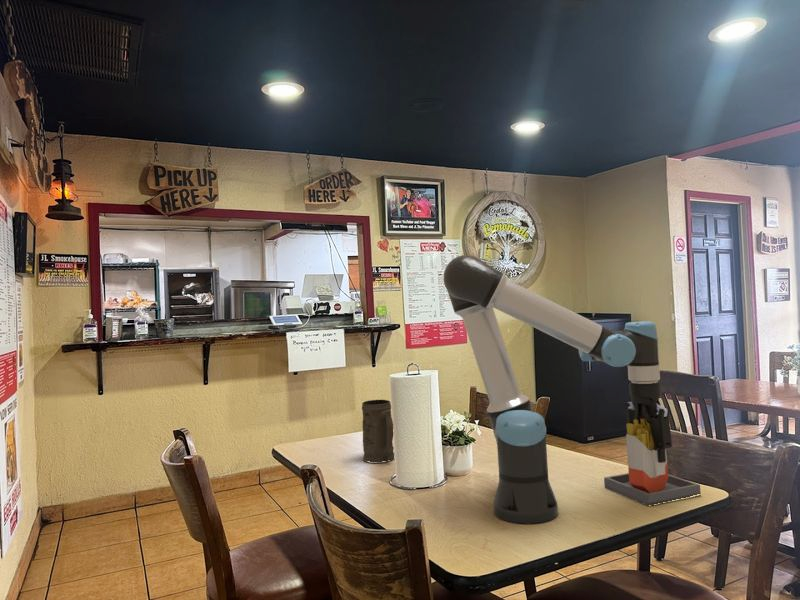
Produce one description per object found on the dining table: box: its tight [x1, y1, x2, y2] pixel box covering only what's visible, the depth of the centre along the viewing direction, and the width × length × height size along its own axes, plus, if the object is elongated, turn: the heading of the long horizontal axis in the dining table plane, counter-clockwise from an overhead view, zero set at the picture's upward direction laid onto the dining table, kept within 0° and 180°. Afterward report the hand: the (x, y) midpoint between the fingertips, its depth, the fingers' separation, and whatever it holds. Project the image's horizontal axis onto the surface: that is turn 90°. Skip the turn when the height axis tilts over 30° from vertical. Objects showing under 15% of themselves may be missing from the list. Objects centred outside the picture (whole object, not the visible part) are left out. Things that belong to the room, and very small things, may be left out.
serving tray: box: [603, 472, 702, 506], centre depth 146 cm, size 16×16×3 cm
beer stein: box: [361, 399, 395, 462], centre depth 191 cm, size 15×11×20 cm
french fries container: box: [625, 418, 669, 493], centre depth 145 cm, size 5×11×18 cm, turn 125°
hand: (650, 471), depth 146 cm, fingers open, 6 cm apart
